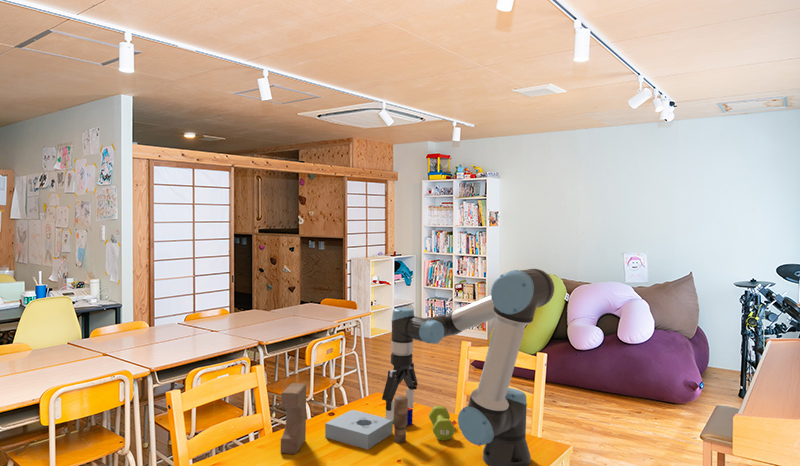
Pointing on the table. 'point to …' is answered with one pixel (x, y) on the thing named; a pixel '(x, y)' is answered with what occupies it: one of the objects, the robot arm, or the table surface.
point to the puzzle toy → (409, 416)
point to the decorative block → (294, 418)
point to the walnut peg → (400, 418)
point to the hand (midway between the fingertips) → (399, 413)
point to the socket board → (359, 429)
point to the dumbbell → (441, 423)
